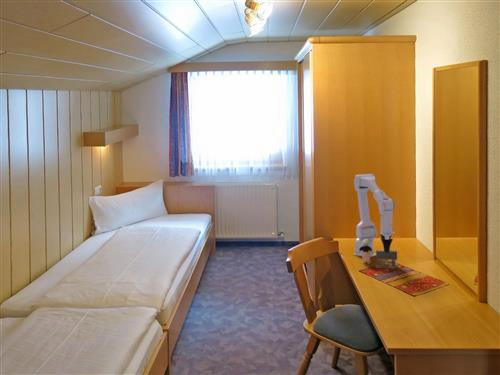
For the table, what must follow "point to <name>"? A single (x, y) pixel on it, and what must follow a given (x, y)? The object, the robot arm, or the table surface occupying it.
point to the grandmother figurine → (365, 251)
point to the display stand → (386, 264)
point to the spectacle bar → (386, 254)
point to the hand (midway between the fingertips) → (386, 250)
